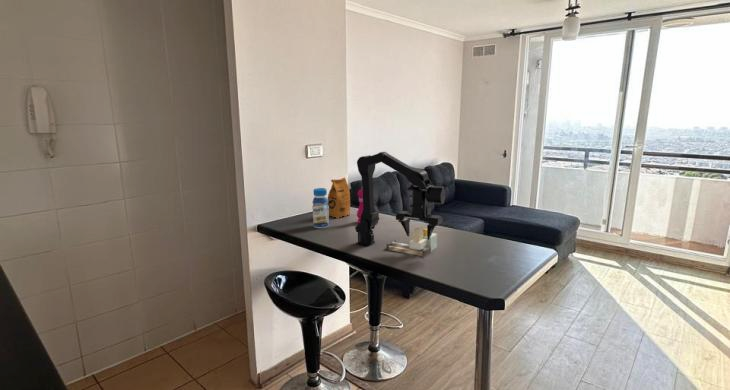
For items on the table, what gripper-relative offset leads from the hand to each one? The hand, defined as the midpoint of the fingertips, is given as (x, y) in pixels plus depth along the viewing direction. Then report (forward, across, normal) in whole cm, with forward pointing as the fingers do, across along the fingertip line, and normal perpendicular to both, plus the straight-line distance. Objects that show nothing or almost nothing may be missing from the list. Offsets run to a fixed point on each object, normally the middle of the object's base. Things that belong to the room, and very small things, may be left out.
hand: (418, 237), depth 162 cm
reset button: (+4, 0, -8) cm, 8 cm away
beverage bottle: (+7, +60, -11) cm, 62 cm away
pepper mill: (+7, +46, -29) cm, 54 cm away
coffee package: (+7, +66, -34) cm, 74 cm away
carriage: (+4, 0, 0) cm, 4 cm away
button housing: (+6, 0, -8) cm, 10 cm away
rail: (+6, +4, 0) cm, 8 cm away
